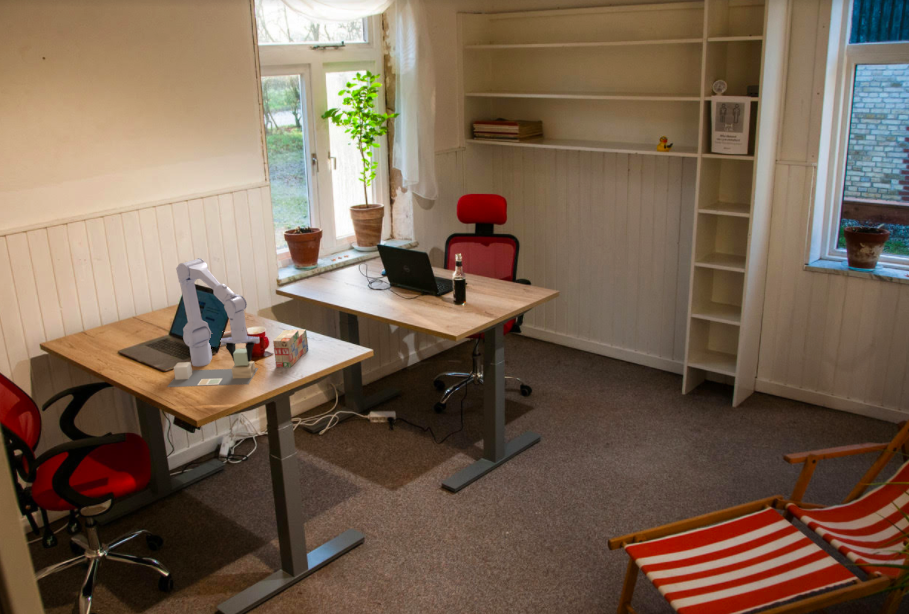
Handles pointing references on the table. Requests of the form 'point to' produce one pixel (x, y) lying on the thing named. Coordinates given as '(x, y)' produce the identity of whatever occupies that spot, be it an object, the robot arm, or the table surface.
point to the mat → (211, 374)
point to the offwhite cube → (183, 370)
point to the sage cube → (240, 357)
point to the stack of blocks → (290, 347)
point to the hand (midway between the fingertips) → (242, 360)
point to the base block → (243, 370)
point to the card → (209, 382)
